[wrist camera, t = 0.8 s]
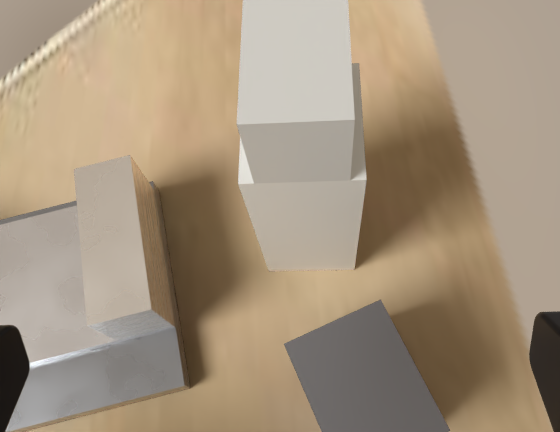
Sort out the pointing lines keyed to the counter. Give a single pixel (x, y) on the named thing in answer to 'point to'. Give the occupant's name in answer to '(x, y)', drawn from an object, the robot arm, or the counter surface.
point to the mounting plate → (103, 369)
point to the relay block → (363, 376)
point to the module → (301, 133)
